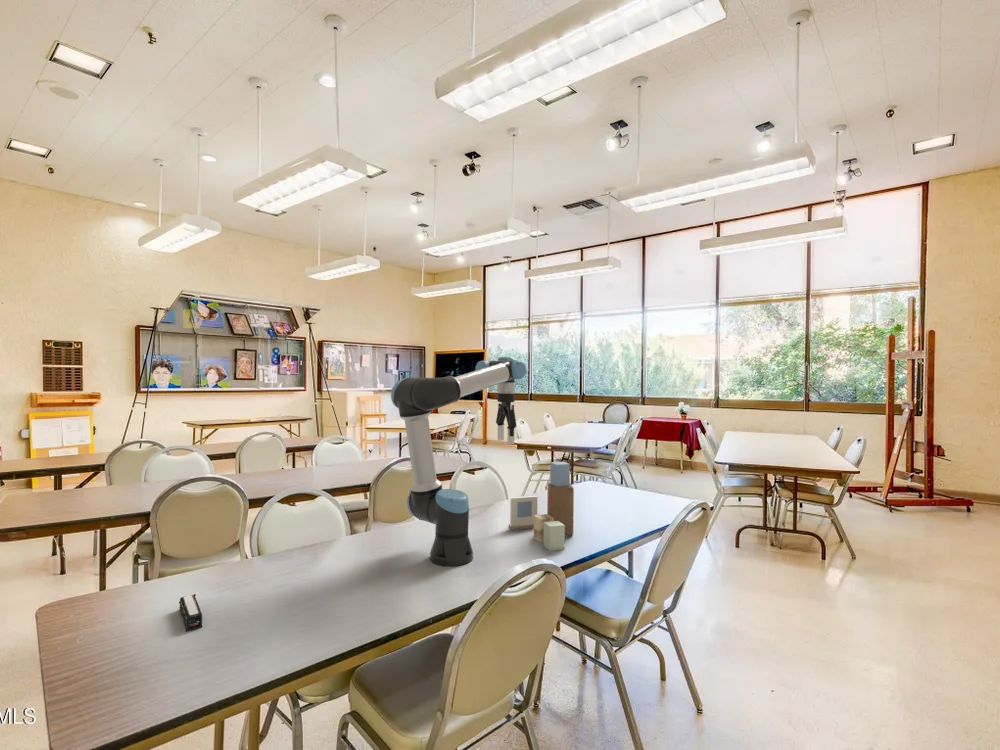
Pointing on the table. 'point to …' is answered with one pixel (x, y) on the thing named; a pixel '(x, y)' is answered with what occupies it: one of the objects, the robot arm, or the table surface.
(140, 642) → the table surface
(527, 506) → the placard
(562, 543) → the sage block
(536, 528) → the maple block
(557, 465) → the slate blue block
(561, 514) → the wooden block
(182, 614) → the bus
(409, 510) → the robot arm
